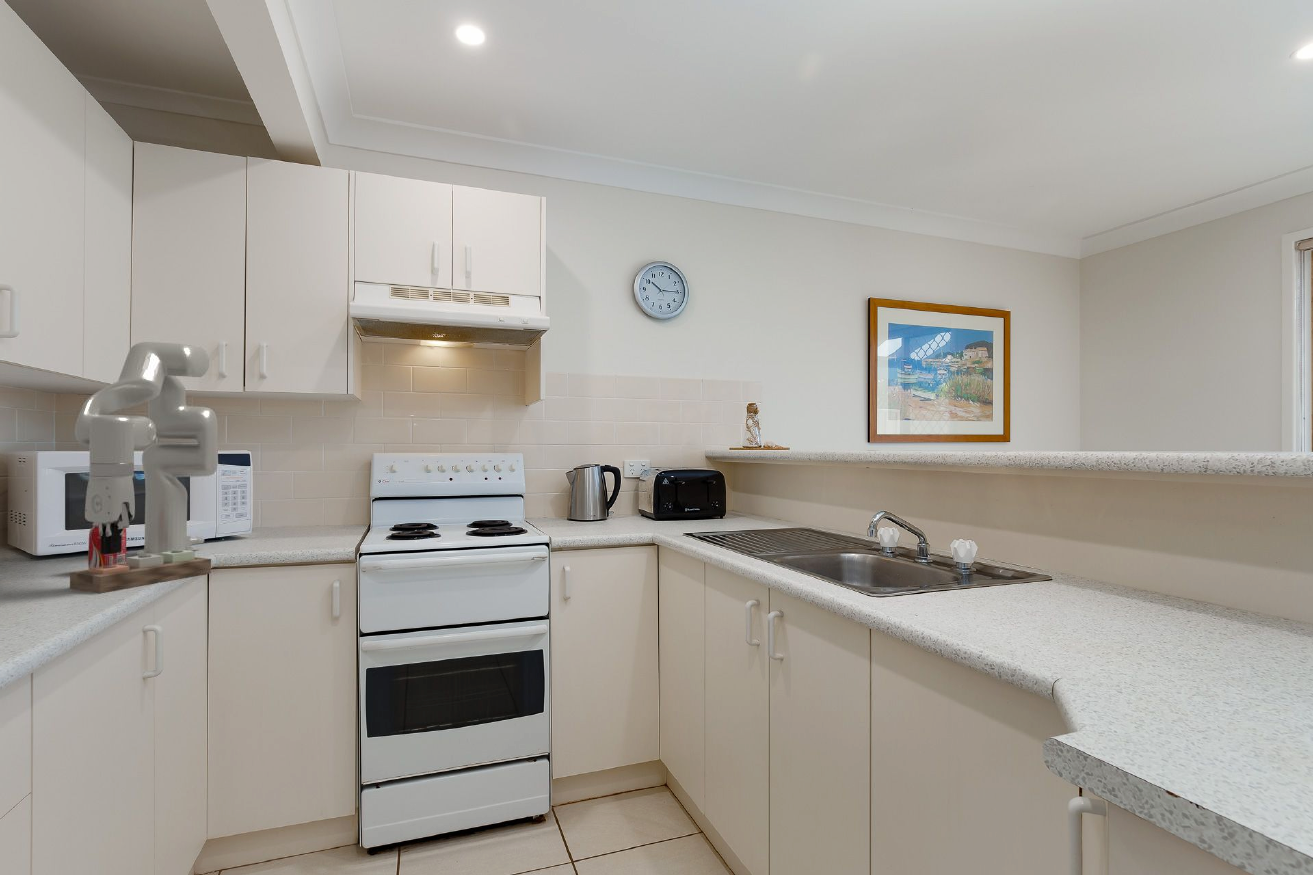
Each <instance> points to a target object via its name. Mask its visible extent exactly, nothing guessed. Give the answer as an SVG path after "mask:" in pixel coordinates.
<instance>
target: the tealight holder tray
mask: <svg viewBox="0 0 1313 875" xmlns="http://www.w3.org/2000/svg"><path fill="white" fill-rule="evenodd" d="M123 566H126V563H125V564H123ZM211 573H212V558H205V557H197V556H195V560H189V561H183V562H177V563H166V562H163V565H158V566H151V567H145V568H131V567H129V570H126V571H120V572H113V573H107V574H97V573H90V572H89V569H83V570H78V571H71V572H69V589H72V590H77V591H85V592H89V593H96V594H97V593H98V594H103V593H105V594H106V593H109V592H110V593H111V592H115V591H120V590H125V589H132V588H137V587H141V586H142V587H143V586H147V585H152V584H153V585H154V584H159V583H158V582H160V583H164V582H171V581H175V580H181V579H187V578H192V577H197V576H202V575H209V574H211Z"/></svg>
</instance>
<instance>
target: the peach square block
mask: <svg viewBox="0 0 1313 875" xmlns="http://www.w3.org/2000/svg"><path fill="white" fill-rule="evenodd" d="M88 570H89V572H90V573H97V574H107V573H113V572H120V571H126V570H129V566H123V565H109V566H103V567H96V568H89V567H88Z"/></svg>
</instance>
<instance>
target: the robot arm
mask: <svg viewBox="0 0 1313 875" xmlns="http://www.w3.org/2000/svg"><path fill="white" fill-rule="evenodd" d="M209 366H210V359H209V355H208V352H207V351H206V350H205V349H204V348H203V347H201V346H195V345H191V344H185V343H184V344H183V343H170V342H154V341H143V342H138V343H135V344H133V346H131V347H130V349H129V350H128V353H127V355H126V359H125V361H124V363H123V366H122V369H121V372H120V374H119V377H118V380H117V381H116V382H113V383H112V384H110V385H107V386H105V387H103V388H102V389H100V390H98V391H96V392H95V393H93V394H92V395H91V396H89V397H88V398H87V399H86V400H85V401H84V403H83V404H82V406H81V409H80V412H79V414H78V417H77V419H76V423H75V427H74V435H75V439H76V441H77V442H78V443H79V444H80V445H82V446H85V447H88V448H89V472H88V474H89V478H88V482H87V488H86V495H85V505H84V506H85V507H84V518H85V520H86V521H87V522H91V523H93V524H94V525H96V526H98V527H99V534H100V536H101V550H100V552H101V554H113V553H120V552H121V550H122V534H123V530H124V529H125V528H126V529H128V528H130V522H131V521H133V520H134V518H135V512H136V510H135V509H136V508H135V507H136V506H135V504H136V503H135V502H136V501H135V487H134V482H133V481H134V480H133V478H134V477H135V476H134V475H135V470H134V469H135V448H144V447H146V448H144V450H143V452H142V454H141V463H142V468H143V470H142V471H143V475H144V482H145V483H144V485H145V499H144V500H145V501H144V502H145V503H144V504H145V506H144V512H145V513H144V547H143V549H141V550H139V551H137V553H136V556H141V555H148V554H152V555H159V553H162V552H169V551H176V550H188V551H194V547H192V546H193V545H199V544H203V543H204V542H205V538H204V536H199V537H198V536H196V537H192V536H191V535H190V536H189V535H187V533H188V532H187V528H188V526H187V525H188V491H187V489H186V487H185V486H184V484H183V483H182V482H181V481H180V480H179V479H178V478H182V477H183V478H186V477H188V478H189V477H190V478H191V477H194V478H195V477H196V478H197V477H210V476H212V475H215V473H216V471H217V469H218V465H219V464H218V463H219V451H218V450H219V444H218V442H219V439H218V438H219V437H218V436H219V435H218V433H219V431H218V430H219V429H218V426H219V424H218V418H217V415H216V412H215V411H214V410H213V409H211V408H210V407H205V406H193V405H192V406H191V405H190V406H188V405H187V401H186V400H187V398H186V396H187V395H186V394H187V393H186V392H187V391H186V387H185V385H184V384H183V382H181V380H180V379H179V378H178V377H188V378H189V377H192V378H201V377H203V376H204V375H205V374H207V372H208V371H209ZM143 404H147V406H148V407H147V408H148V409H147V410H148V411H147V412H148V414H147V416H148V417H147V416H143V415H125V414H123V415H122V414H113V413H114V412H116V411H120V410H124V409H127V408H132V407H136V406H140V405H143ZM111 413H112V414H111ZM156 438H157V439H163V440H165V439H166V440H167V439H169V440H194V441H196V442H197V443H169V442H168V443H165V442H164V443H157V444H156V443H155V444H152V443H153V442H154V441H155V439H156ZM151 444H152V445H151ZM147 446H148V447H147Z"/></svg>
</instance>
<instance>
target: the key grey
mask: <svg viewBox="0 0 1313 875" xmlns="http://www.w3.org/2000/svg"><path fill="white" fill-rule="evenodd" d="M163 559H164V556H161V555H152V554H148V555H141V556H137V555H134V556H129V557H127V556H126V562H125V564H126V566H129V567H131V568H145V567H151V566H158V565H163Z"/></svg>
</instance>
